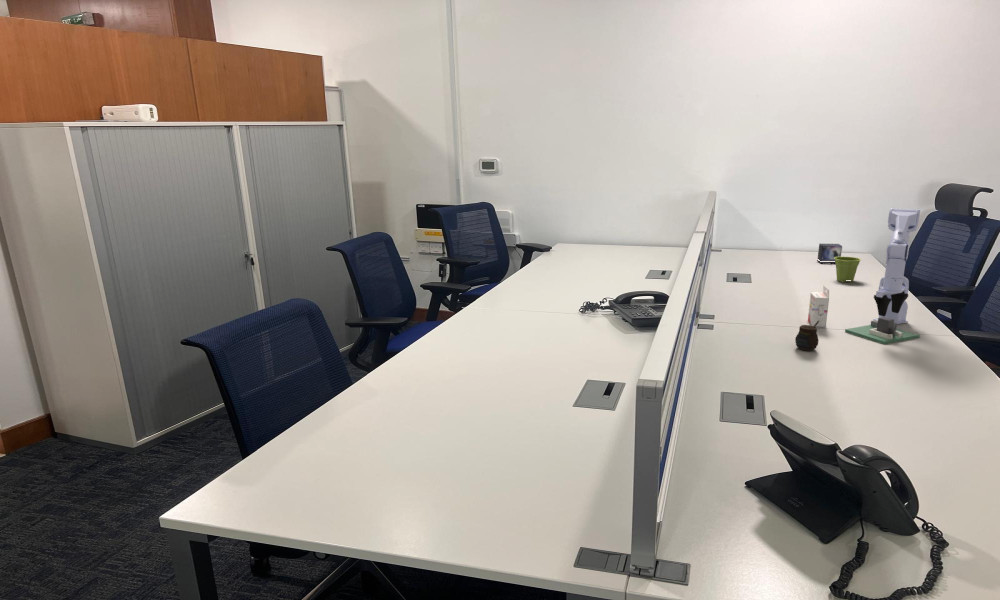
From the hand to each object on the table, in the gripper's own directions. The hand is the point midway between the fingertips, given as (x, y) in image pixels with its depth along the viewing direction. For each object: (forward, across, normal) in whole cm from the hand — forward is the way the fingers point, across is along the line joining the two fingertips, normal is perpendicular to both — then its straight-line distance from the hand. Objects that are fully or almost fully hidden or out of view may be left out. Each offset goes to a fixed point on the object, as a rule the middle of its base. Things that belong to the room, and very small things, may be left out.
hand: (888, 314), depth 232 cm
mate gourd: (+9, +35, -6) cm, 36 cm away
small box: (+9, -100, -98) cm, 140 cm away
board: (+9, -2, -3) cm, 10 cm away
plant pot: (+9, -68, -65) cm, 95 cm away
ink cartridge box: (+9, +6, -24) cm, 26 cm away
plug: (+8, 0, -1) cm, 8 cm away
